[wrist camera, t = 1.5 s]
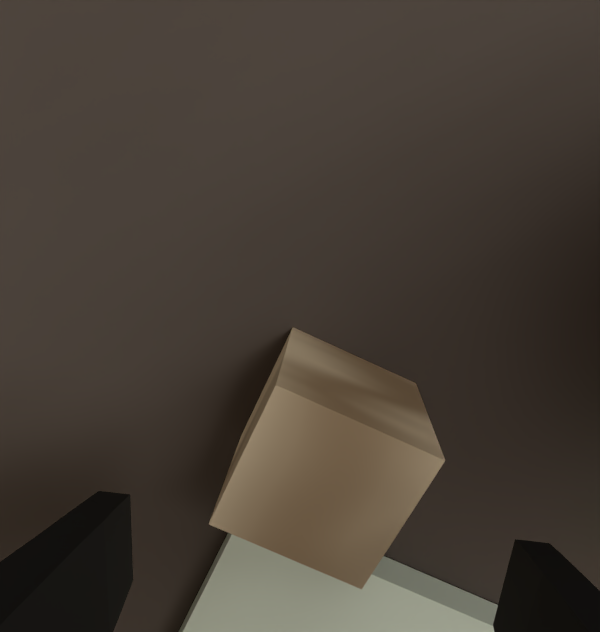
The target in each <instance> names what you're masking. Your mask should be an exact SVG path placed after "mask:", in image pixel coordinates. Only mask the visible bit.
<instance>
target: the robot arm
mask: <svg viewBox="0 0 600 632" xmlns="http://www.w3.org/2000/svg"><path fill="white" fill-rule="evenodd" d="M132 581H133V568H132V538H131V508H130V495H128V494H119V493H111V492H102V491H98V492H97V493H96V494H94V495H93V496H91V497H90V498H88V499H87V500H86V501H84V502H83V503H81V504H80V505H79V506H77V507H76V508H74V509H73V510H72V511H70V512H69V513H68V514H66V515H65V516H64V517H62V518H61V519H59V520H58V521H57V522H55V523H54V524H53V525H51V526H50V527H49V528H47V529H46V530H44V531H43V532H42V533H40V534H39V535H38V536H36V537H35V538H33V539H32V540H31V541H29V542H28V543H26V544H25V545H24V546H22V547H21V548H19V549H18V550H16V551H15V552H14V553H12V554H11V555H9V556H8V557H7V558H5V559H4V560H2V561H1V562H0V632H113V630H114V628H115V625H116V623H117V620H118V618H119V615H120V613H121V610H122V608H123V605H124V602H125V600H126V597H127V594H128V592H129V589H130V586H131V584H132ZM493 628H494V632H600V591H599V590H598V589H597V588H596V587H595V586H594V585H593V584H592V583H591V582H590V581H589V580H588V579H587V578H586V577H585V576H584V575H583V574H582V573H581V572H579V571H578V570H577V569H576V568H575V567H574V566H573V565H572V564H571V563H570V562H569V561H568V560H567V559H566V558H565V557H564V556H563V555H562V554H561V553H559V552H558V551H557V550H556V549H555V548H554V547H553V546H552V545H551V544H549V543H541V542H533V541H524V540H516V539H515V542H514V546H513V550H512V554H511V558H510V561H509V565H508V569H507V573H506V577H505V581H504V584H503V588H502V592H501V596H500V600H499V604H498V607H497V611H496V615H495V619H494V623H493Z"/></svg>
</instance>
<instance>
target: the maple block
mask: <svg viewBox="0 0 600 632" xmlns="http://www.w3.org/2000/svg"><path fill="white" fill-rule="evenodd" d="M444 462H445V458H444V456H443V453H442V451H441V448H440V445H439V443H438V440H437V437H436V435H435V432H434V429H433V427H432V424H431V422H430V419H429V416H428V414H427V411H426V408H425V406H424V403H423V400H422V398H421V395H420V393H419V390H418V387H417V385H416V383H414V382H412V381H410V380H408V379H405V378H403V377H401V376H399V375H397V374H394V373H392V372H390V371H388V370H386V369H383V368H381V367H379V366H377V365H375V364H372V363H370V362H368V361H366V360H364V359H361V358H359V357H357V356H355V355H353V354H350V353H348V352H346V351H344V350H342V349H339V348H337V347H335V346H333V345H331V344H329V343H326V342H324V341H322V340H320V339H318V338H315V337H313V336H311V335H309V334H307V333H304V332H302V331H300V330H298V329H296V328H292V330H291V332H290V334H289V336H288V338H287V340H286V342H285V344H284V346H283V349H282V351H281V353H280V355H279V357H278V359H277V361H276V363H275V365H274V368H273V370H272V372H271V374H270V376H269V378H268V380H267V382H266V384H265V386H264V389H263V391H262V393H261V395H260V397H259V399H258V401H257V403H256V405H255V408H254V410H253V412H252V414H251V416H250V418H249V420H248V422H247V424H246V426H245V429H244V431H243V433H242V435H241V437H240V440H239V443H238V446H237V448H236V451H235V454H234V456H233V459H232V462H231V465H230V467H229V470H228V473H227V475H226V478H225V481H224V484H223V486H222V489H221V492H220V494H219V497H218V500H217V503H216V505H215V508H214V511H213V514H212V516H211V519H210V522H209V525H211V526H214V527H216V528H218V529H221V530H223V531H225V532H228V533H230V534H233V535H235V536H237V537H240V538H242V539H244V540H247V541H249V542H251V543H254V544H256V545H258V546H261V547H263V548H265V549H268V550H270V551H272V552H275V553H277V554H280V555H282V556H284V557H287V558H289V559H291V560H294V561H296V562H298V563H301V564H303V565H305V566H308V567H310V568H312V569H315V570H317V571H319V572H322V573H324V574H327V575H329V576H331V577H334V578H336V579H338V580H341V581H343V582H345V583H348V584H350V585H352V586H355V587H357V588H359V589H362V588H363V587H364V585H365V584H366V582H367V580H368V579H369V577H370V576H371V574H372V573H373V571H374V570H375V568H376V567H377V565H378V564H379V562H380V560H381V559H382V557H383V556H384V554H385V553H386V551H387V550H388V548H389V547H390V545H391V544H392V542H393V540H394V539H395V537H396V536H397V534H398V533H399V531H400V530H401V528H402V527H403V525H404V523H405V522H406V520H407V519H408V517H409V516H410V514H411V513H412V511H413V510H414V508H415V507H416V505H417V503H418V502H419V500H420V499H421V497H422V496H423V494H424V493H425V491H426V490H427V488H428V487H429V485H430V483H431V482H432V480H433V479H434V477H435V476H436V474H437V473H438V471H439V470H440V468H441V466H442V465H443V463H444Z"/></svg>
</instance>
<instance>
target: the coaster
mask: <svg viewBox="0 0 600 632" xmlns="http://www.w3.org/2000/svg"><path fill="white" fill-rule="evenodd" d="M497 607H498V605H497V604H494V603H492V602H490V601H487V600H485V599H483V598H480V597H478V596H476V595H473V594H471V593H469V592H466V591H464V590H462V589H459V588H457V587H455V586H452V585H450V584H448V583H445V582H443V581H441V580H438V579H436V578H434V577H431V576H429V575H427V574H424V573H422V572H420V571H417V570H415V569H413V568H410V567H408V566H406V565H404V564H401V563H399V562H397V561H394V560H392V559H390V558H387V557H385V556H383V557H382V559H381V560H380V562H379V564H378V565H377V567H376V568H375V570H374V571H373V573H372V574H371V576H370V577H369V579H368V580H367V582H366V584H365V585H364V587H363V588H362V589H359V588H357V587H355V586H352V585H350V584H348V583H345V582H343V581H341V580H338V579H336V578H334V577H331V576H329V575H327V574H324V573H322V572H319V571H317V570H315V569H312V568H310V567H308V566H305V565H303V564H301V563H298V562H296V561H294V560H291V559H289V558H287V557H284V556H282V555H280V554H277V553H275V552H272V551H270V550H268V549H265V548H263V547H261V546H258V545H256V544H254V543H251V542H249V541H247V540H244V539H242V538H240V537H237V536H235V535H233V534H230V533H228V534H227V536H226V538H225V540H224V542H223V544H222V546H221V548H220V550H219V552H218V554H217V556H216V558H215V560H214V562H213V564H212V566H211V568H210V570H209V572H208V574H207V576H206V578H205V580H204V582H203V584H202V586H201V588H200V590H199V592H198V594H197V596H196V598H195V600H194V602H193V604H192V606H191V608H190V610H189V612H188V614H187V616H186V618H185V620H184V622H183V624H182V626H181V628H180V630H179V632H494V628H493V623H494V619H495V615H496V611H497Z"/></svg>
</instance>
